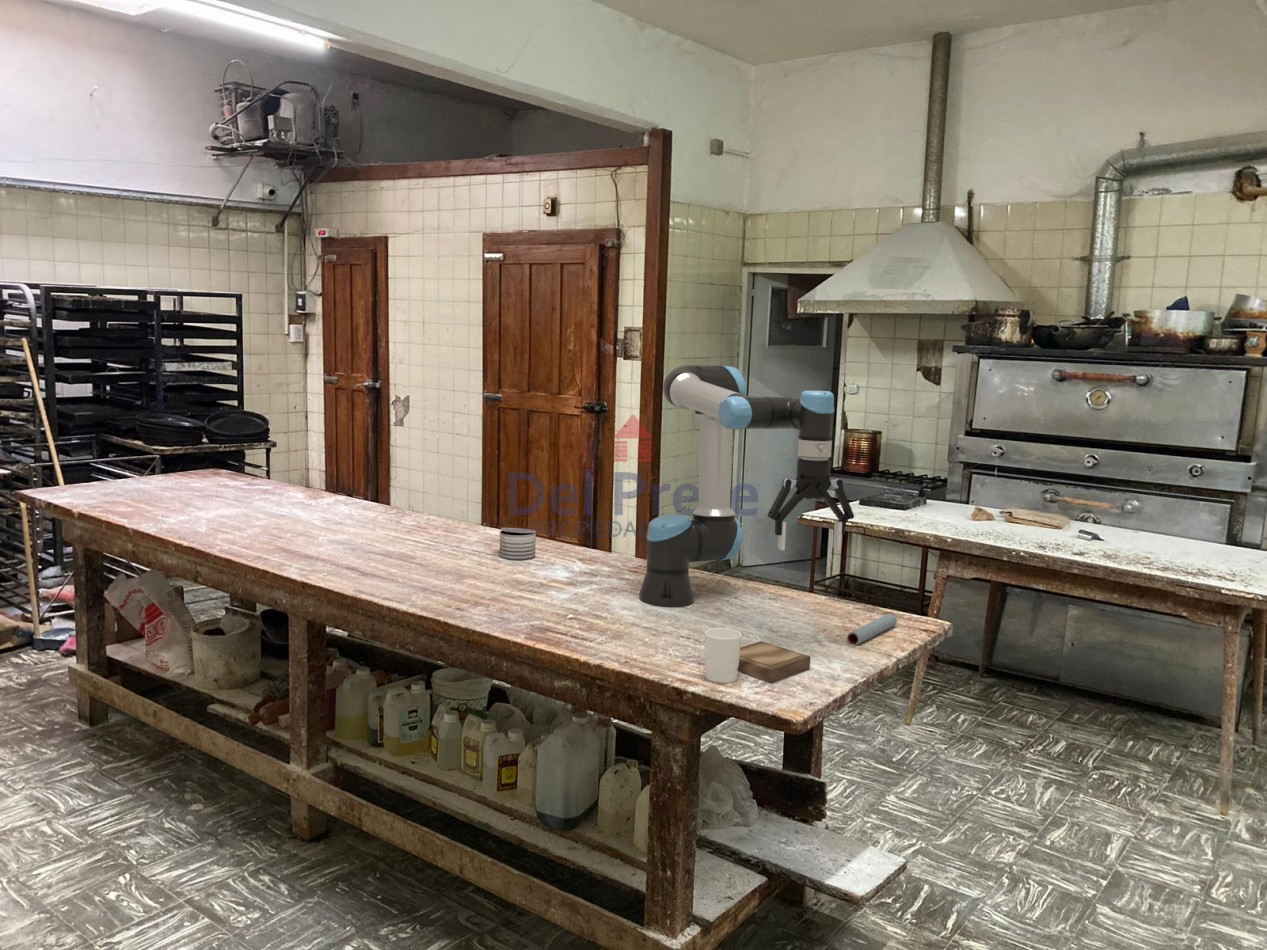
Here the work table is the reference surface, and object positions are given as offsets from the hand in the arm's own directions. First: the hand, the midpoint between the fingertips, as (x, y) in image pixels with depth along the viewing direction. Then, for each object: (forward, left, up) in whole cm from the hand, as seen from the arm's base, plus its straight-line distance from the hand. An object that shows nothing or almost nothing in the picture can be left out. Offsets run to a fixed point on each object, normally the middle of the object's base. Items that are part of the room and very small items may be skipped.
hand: (809, 549), depth 219 cm
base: (+1, -16, -25) cm, 29 cm away
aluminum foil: (+4, +26, -26) cm, 37 cm away
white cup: (-1, -28, -25) cm, 38 cm away
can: (-109, -1, -25) cm, 112 cm away
